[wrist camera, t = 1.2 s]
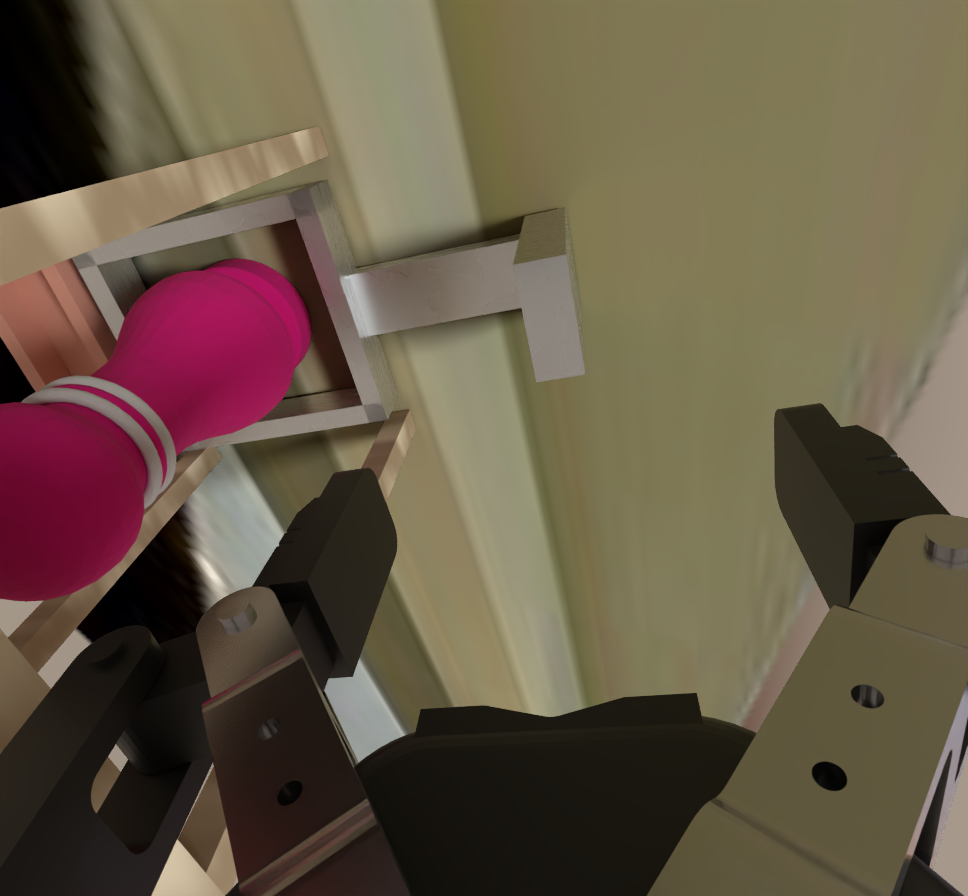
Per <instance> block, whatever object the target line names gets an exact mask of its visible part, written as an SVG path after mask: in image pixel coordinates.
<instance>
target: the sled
mask: <svg viewBox="0 0 968 896" xmlns="http://www.w3.org/2000/svg"><path fill="white" fill-rule="evenodd" d="M293 219H296V221H297V223H298V226H299V229H300V232H301V234H302V237H303V240H304V243H305V246H306V248H307V251H308V254H309V257H310V260H311V262H312V265H313V268H314V271H315V273H316V276H317V279H318V282H319V285H320V287H321V290H322V293H323V296H324V299H325V301H326V304H327V307H328V310H329V312H330V315H331V318H332V321H333V324H334V326H335V329H336V332H337V335H338V338H339V340H340V343H341V346H342V349H343V352H344V354H345V357H346V360H347V363H348V365H349V368H350V371H351V374H352V377H353V379H354V382H355V385H356V388H350V389H344V390H338V391H332V392H326V393H321V394H315V395H309V396H303V397H297V398H291V399H285V400H281V401H280V402H279V403H278V404H277V406H276V407H274V408H273V409H272V410H271V411H270V412H269V413H268V414H266V415H265V416H264V417H263V418H262V419H260V420H259V421H257V422H256V423H254V424H252V425H250V426H248V427H245V428H243V429H241V430H239V431H236V432H234V433H231V434H227V435H222V436H217V437H213V438H209V439H206V440H203V441H199V442H197V443H195V444H193V445H191V446H189V447H187V448H186V449H184V450H183V451H182V452H185V451H192V450H198V449H205V448H211V447H217V446H224V445H230V444H237V443H243V442H249V441H256V440H262V439H269V438H275V437H281V436H288V435H294V434H301V433H307V432H313V431H320V430H326V429H333V428H339V427H345V426H352V425H358V424H365V423H371V422H377V421H384V420H388V419H389V416H390V414H391V412H392V410H393V408H394V406H395V404H396V402H397V400H398V395H397V392H396V389H395V386H394V383H393V380H392V377H391V374H390V371H389V368H388V365H387V362H386V359H385V355H384V352H383V349H382V346H381V343H380V340H379V337H378V334H384V333H389V332H394V331H400V330H405V329H410V328H416V327H421V326H427V325H432V324H437V323H443V322H448V321H453V320H459V319H464V318H470V317H475V316H480V315H486V314H491V313H496V312H502V311H507V310H513V309H518V308H522V313H523V318H524V323H525V328H526V333H527V338H528V343H529V347H530V352H531V357H532V362H533V367H534V372H535V377H536V382H541V381H547V380H553V379H559V378H566V377H572V376H578V375H584V374H585V365H584V351H583V338H582V325H581V312H580V301H579V295H578V288H577V282H576V275H575V269H574V262H573V256H572V249H571V243H570V237H569V230H568V224H567V217H566V211H565V208H560V209H556V210H551V211H547V212H542V213H537V214H533V215H528V216H525V217H524V221H523V225H522V229H521V233H520V234H517V235H512V236H507V237H502V238H498V239H493V240H488V241H483V242H479V243H474V244H469V245H464V246H460V247H455V248H450V249H445V250H440V251H436V252H431V253H426V254H421V255H417V256H412V257H407V258H402V259H398V260H393V261H388V262H383V263H379V264H374V265H369V266H364V267H360V268H356V266H355V263H354V260H353V257H352V254H351V251H350V248H349V245H348V242H347V239H346V236H345V233H344V230H343V226H342V223H341V220H340V217H339V214H338V211H337V208H336V205H335V202H334V199H333V196H332V193H331V190H330V187H329V183H328V180H325V181H321V182H317V183H313V184H308V185H304V186H300V187H296V188H292V189H288V190H284V191H280V192H276V193H271V194H267V195H263V196H259V197H255V198H251V199H247V200H243V201H239V202H234V203H230V204H226V205H222V206H218V207H214V208H210V209H206V210H202V211H197V212H193V213H189V214H185V215H181V216H177V217H173V218H171V219H168V220H166V221H163V222H161V223H158V224H156V225H153V226H151V227H148V228H146V229H143V230H141V231H138V232H136V233H133V234H130V235H128V236H125V237H123V238H120V239H118V240H115V241H113V242H110V243H108V244H105V245H103V246H100V247H98V248H95V249H93V250H90V251H88V252H85V253H83V254H80V255H78V256H75V257H72V259H73V261H74V263H75V265H76V267H77V268H78V270H79V272H80V274H81V276H82V278H83V279H84V281H85V283H86V285H87V287H88V289H89V290H90V292H91V294H92V296H93V298H94V300H95V302H96V303H97V305H98V307H99V309H100V311H101V313H102V314H103V316H104V318H105V320H106V322H107V324H108V325H109V327H110V329H111V331H112V333H113V335H114V336H115V338H116V340H117V339H118V336H119V333H120V330H121V327H122V324H123V321H124V319H125V317H126V316H127V314H128V312H129V311H130V309H131V308H132V306H133V304H134V303H135V302H136V301H137V300H138V299H139V298H140V296H141V295H142V294H143V293H145V292H146V289H145V287H144V285H143V283H142V281H141V279H140V277H139V274H138V272H137V270H136V268H135V266H134V264H133V262H132V260H131V258H130V257H134V256H138V255H142V254H147V253H151V252H155V251H160V250H164V249H168V248H173V247H177V246H181V245H185V244H190V243H194V242H198V241H203V240H207V239H211V238H216V237H220V236H224V235H228V234H233V233H237V232H241V231H246V230H250V229H254V228H259V227H263V226H267V225H272V224H276V223H280V222H284V221H289V220H293Z"/></svg>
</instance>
